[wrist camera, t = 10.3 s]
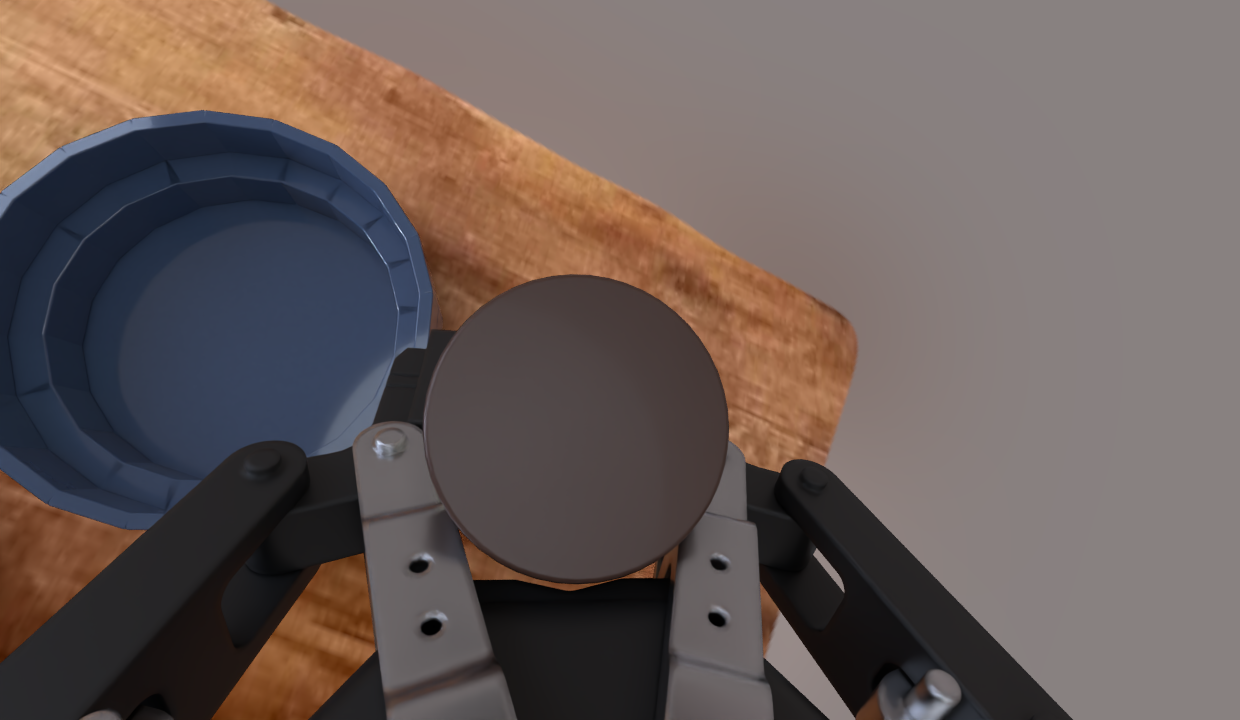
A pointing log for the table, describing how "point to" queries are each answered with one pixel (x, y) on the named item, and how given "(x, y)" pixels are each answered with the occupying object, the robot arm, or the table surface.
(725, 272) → the table surface
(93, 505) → the bowl
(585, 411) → the tube
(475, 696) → the robot arm
